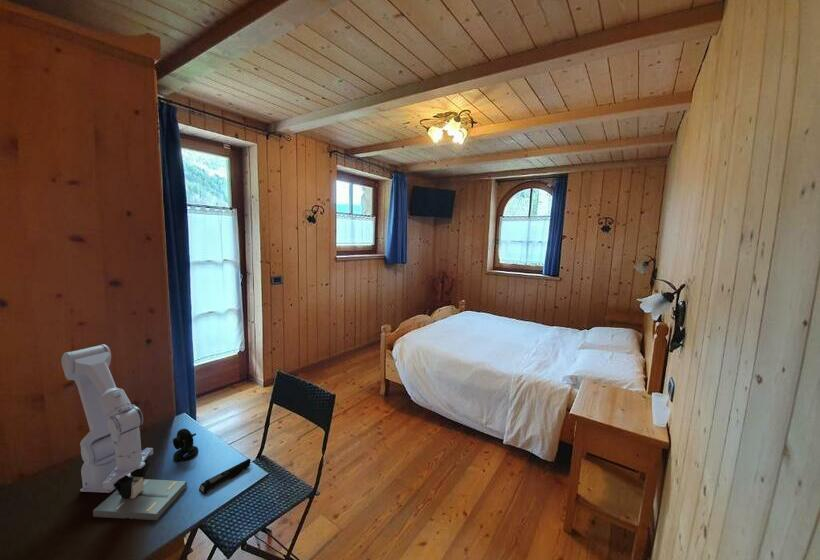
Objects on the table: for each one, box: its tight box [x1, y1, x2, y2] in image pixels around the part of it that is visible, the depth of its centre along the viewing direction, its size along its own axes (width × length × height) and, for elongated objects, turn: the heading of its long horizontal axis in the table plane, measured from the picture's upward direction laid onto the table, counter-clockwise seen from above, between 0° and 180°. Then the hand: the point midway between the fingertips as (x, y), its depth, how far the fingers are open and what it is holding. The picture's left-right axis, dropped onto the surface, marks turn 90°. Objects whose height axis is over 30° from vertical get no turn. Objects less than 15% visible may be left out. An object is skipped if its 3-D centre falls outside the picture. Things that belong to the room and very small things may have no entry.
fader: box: [120, 477, 144, 498], centre depth 96 cm, size 4×4×4 cm
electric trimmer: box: [198, 458, 251, 495], centre depth 107 cm, size 4×16×3 cm, turn 143°
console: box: [92, 478, 188, 521], centre depth 97 cm, size 18×12×2 cm, turn 89°
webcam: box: [172, 428, 199, 463], centre depth 116 cm, size 8×8×10 cm
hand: (132, 492), depth 96 cm, fingers closed on fader, 3 cm apart
